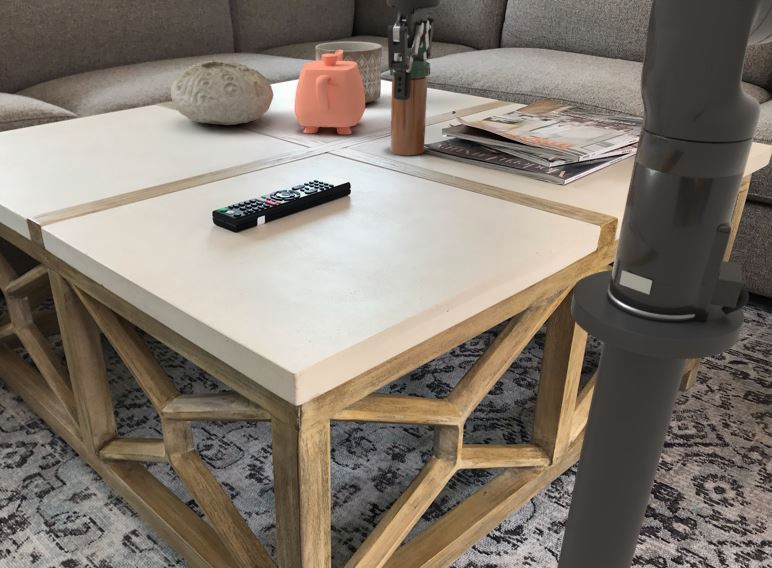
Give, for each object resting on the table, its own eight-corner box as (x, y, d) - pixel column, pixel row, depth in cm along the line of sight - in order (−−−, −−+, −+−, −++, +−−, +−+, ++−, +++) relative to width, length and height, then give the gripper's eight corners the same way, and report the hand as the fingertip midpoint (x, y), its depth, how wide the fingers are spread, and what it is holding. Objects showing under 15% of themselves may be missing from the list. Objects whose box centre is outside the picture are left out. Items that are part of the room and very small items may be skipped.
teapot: (357, 142, 118) (358, 64, 112) (285, 140, 120) (282, 62, 114) (371, 115, 135) (372, 45, 129) (307, 113, 137) (306, 44, 131)
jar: (428, 148, 115) (432, 66, 109) (418, 156, 111) (421, 71, 105) (396, 145, 117) (399, 64, 111) (385, 153, 112) (387, 69, 107)
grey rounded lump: (284, 113, 137) (282, 56, 133) (260, 136, 122) (256, 73, 117) (193, 110, 140) (188, 54, 136) (158, 133, 125) (151, 71, 120)
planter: (380, 95, 150) (381, 41, 145) (380, 109, 139) (381, 50, 134) (318, 95, 151) (317, 41, 146) (313, 108, 140) (312, 51, 135)
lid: (397, 70, 111) (398, 59, 111) (434, 72, 109) (435, 61, 109) (384, 76, 107) (384, 65, 106) (422, 78, 105) (423, 67, 104)
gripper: (425, -28, 94) (417, 107, 103) (455, -34, 105) (446, 88, 114) (370, -29, 97) (367, 103, 105) (406, -35, 108) (400, 84, 117)
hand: (408, 94), depth 110 cm, fingers closed on lid, 5 cm apart
